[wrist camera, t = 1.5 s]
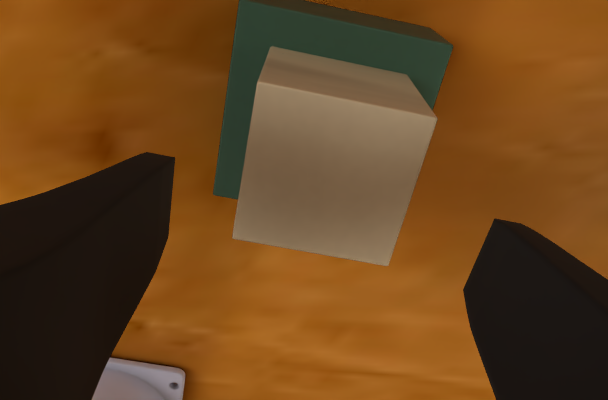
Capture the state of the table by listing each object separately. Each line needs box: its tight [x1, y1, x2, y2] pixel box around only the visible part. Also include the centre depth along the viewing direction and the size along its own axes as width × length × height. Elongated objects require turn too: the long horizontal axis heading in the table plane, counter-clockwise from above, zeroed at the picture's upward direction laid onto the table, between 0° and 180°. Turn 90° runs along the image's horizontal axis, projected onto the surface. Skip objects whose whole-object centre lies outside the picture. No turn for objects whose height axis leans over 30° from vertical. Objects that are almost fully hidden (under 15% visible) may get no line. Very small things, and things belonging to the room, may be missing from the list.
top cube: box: [232, 46, 437, 266], centre depth 16 cm, size 5×5×5 cm
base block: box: [213, 0, 453, 199], centre depth 19 cm, size 7×7×4 cm
